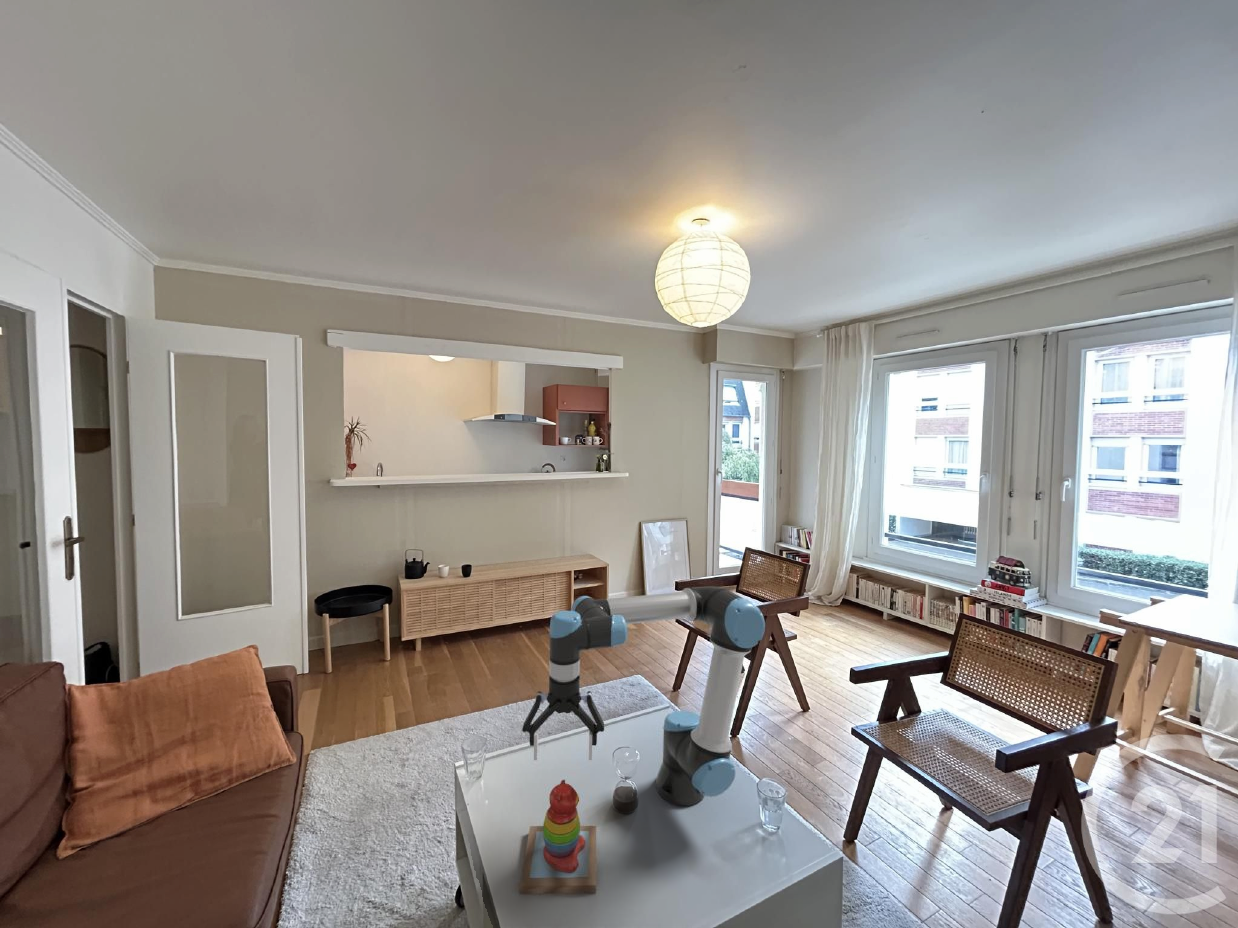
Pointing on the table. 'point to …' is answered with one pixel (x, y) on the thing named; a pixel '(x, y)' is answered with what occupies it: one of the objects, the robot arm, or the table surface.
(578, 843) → the stacking bear
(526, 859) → the base board
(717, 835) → the table surface
